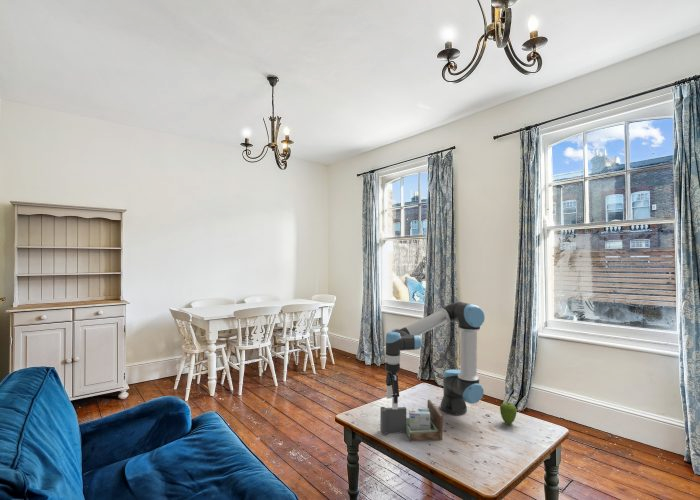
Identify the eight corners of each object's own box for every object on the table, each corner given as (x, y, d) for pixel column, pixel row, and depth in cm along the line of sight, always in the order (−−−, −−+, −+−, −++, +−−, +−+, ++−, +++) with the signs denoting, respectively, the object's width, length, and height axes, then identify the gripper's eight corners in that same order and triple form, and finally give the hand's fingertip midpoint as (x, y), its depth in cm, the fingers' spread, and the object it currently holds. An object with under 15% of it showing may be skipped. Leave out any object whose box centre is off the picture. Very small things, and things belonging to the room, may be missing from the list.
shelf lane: (429, 421, 200) (429, 399, 200) (442, 439, 181) (442, 415, 181) (401, 422, 198) (401, 400, 198) (411, 441, 179) (411, 417, 179)
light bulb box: (429, 428, 192) (429, 408, 192) (430, 434, 185) (430, 413, 186) (408, 427, 193) (408, 407, 193) (409, 433, 186) (409, 412, 187)
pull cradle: (428, 422, 198) (428, 400, 198) (438, 437, 182) (438, 413, 182) (378, 425, 195) (378, 402, 195) (384, 440, 179) (384, 415, 179)
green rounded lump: (517, 428, 192) (517, 406, 192) (500, 425, 195) (500, 404, 196) (516, 421, 200) (516, 400, 200) (499, 418, 204) (499, 398, 204)
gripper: (380, 355, 200) (380, 394, 200) (390, 370, 175) (390, 414, 175) (394, 355, 201) (393, 393, 201) (405, 370, 176) (405, 413, 176)
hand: (391, 403), depth 188 cm, fingers open, 13 cm apart
